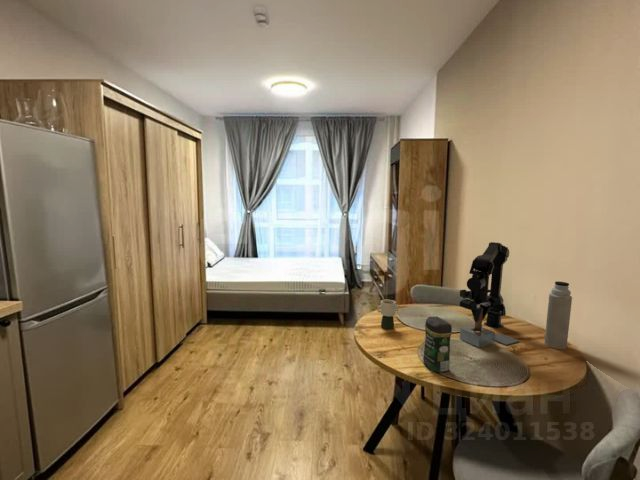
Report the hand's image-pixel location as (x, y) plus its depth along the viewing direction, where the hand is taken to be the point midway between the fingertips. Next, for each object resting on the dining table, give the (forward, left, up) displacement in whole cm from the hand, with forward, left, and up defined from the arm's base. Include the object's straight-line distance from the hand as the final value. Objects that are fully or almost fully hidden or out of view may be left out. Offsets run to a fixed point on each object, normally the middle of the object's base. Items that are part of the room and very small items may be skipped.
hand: (478, 321), depth 148 cm
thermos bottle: (-28, +17, -9) cm, 34 cm away
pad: (-12, +4, -9) cm, 16 cm away
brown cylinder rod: (0, 0, -4) cm, 4 cm away
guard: (0, 0, -9) cm, 9 cm away
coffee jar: (+34, +10, -9) cm, 37 cm away
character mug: (+27, -29, -9) cm, 41 cm away
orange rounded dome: (0, 0, -7) cm, 7 cm away
